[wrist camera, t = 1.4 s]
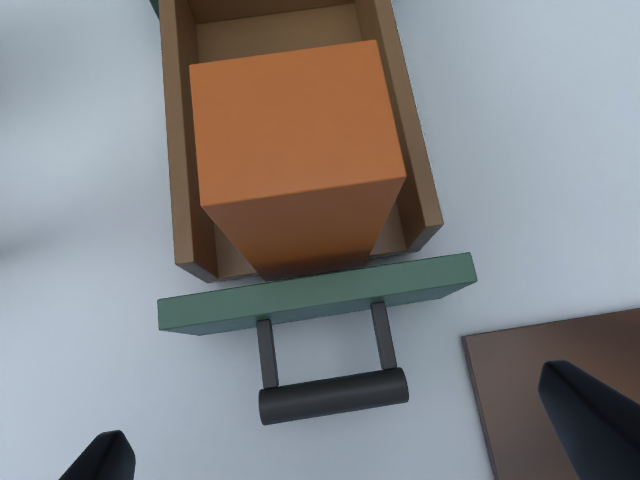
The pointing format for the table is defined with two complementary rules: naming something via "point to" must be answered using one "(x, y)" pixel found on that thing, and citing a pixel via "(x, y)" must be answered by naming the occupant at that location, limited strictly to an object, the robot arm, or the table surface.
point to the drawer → (314, 291)
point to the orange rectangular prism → (297, 155)
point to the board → (523, 378)
